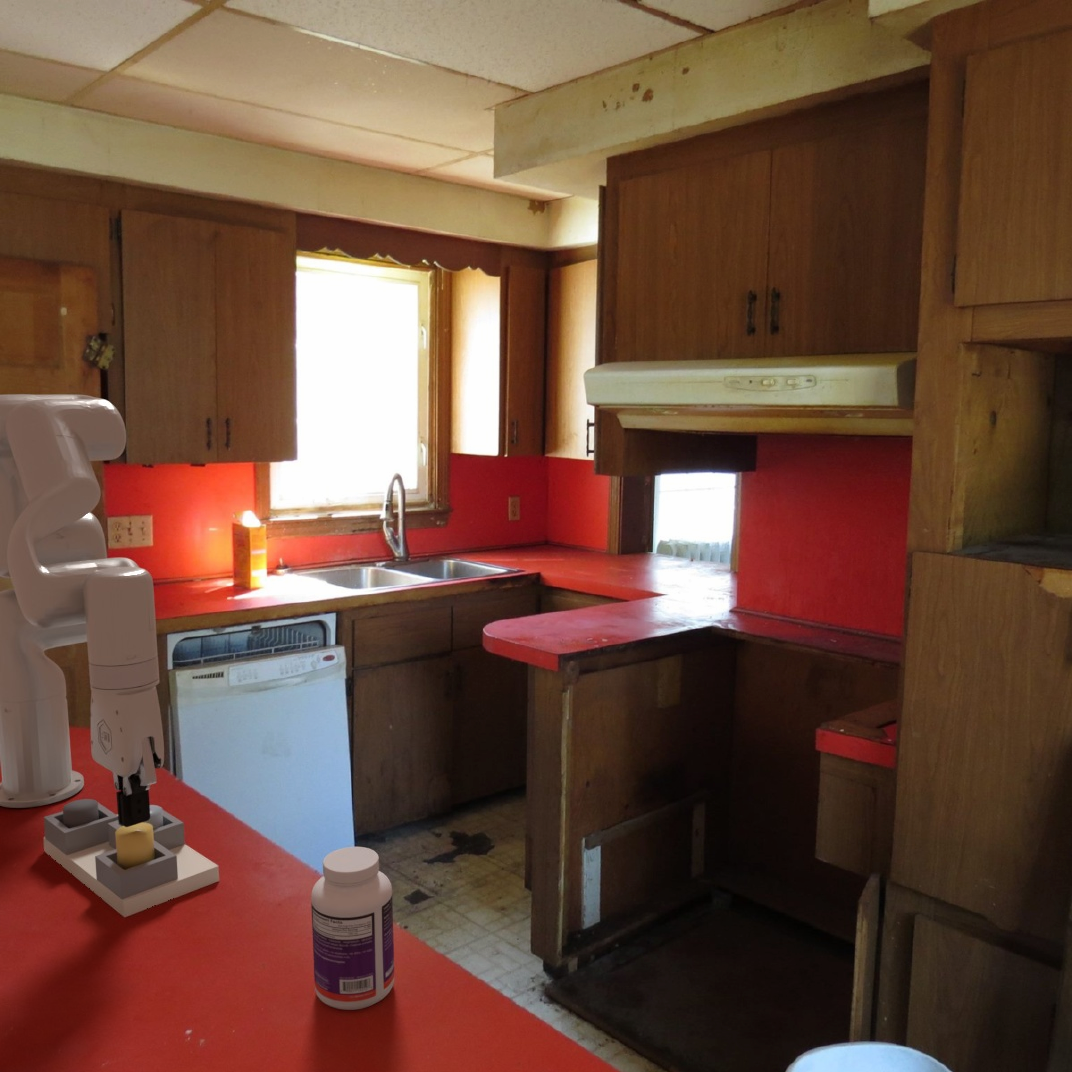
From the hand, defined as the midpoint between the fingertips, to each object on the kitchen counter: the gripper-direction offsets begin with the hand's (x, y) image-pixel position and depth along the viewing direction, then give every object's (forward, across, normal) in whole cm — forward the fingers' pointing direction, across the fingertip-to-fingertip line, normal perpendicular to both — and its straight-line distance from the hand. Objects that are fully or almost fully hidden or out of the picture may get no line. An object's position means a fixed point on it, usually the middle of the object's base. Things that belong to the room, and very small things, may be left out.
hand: (134, 821), depth 120 cm
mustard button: (+5, 0, 0) cm, 5 cm away
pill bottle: (+10, +35, +6) cm, 37 cm away
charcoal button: (+7, -16, 0) cm, 18 cm away
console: (+9, -8, +2) cm, 13 cm away
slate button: (+7, -8, +5) cm, 12 cm away
